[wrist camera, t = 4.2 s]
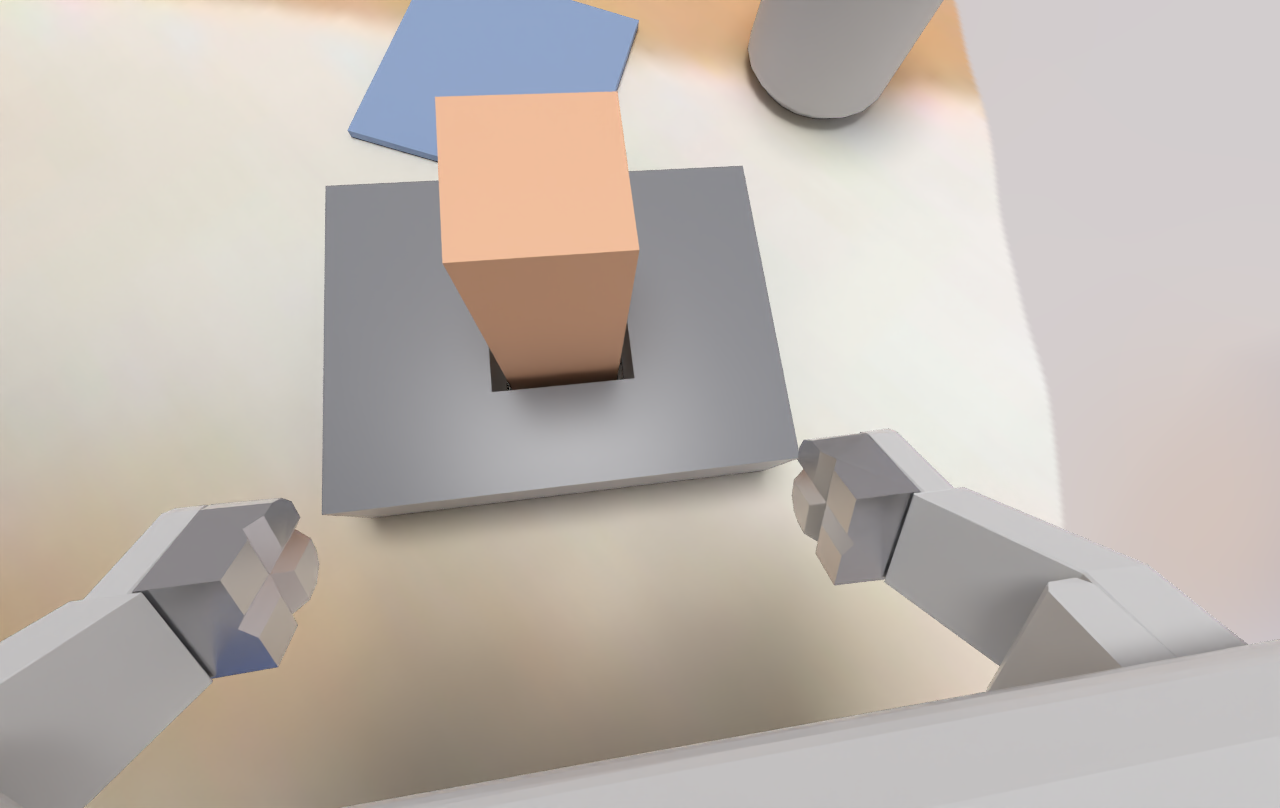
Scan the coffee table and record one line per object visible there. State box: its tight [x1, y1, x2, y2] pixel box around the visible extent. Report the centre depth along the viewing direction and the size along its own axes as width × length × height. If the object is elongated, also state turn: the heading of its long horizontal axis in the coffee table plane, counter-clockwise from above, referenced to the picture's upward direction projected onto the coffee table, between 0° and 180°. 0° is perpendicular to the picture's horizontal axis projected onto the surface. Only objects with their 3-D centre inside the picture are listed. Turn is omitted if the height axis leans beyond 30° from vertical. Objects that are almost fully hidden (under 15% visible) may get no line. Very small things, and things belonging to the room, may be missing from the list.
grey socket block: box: [322, 166, 799, 518], centre depth 21 cm, size 16×12×4 cm
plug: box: [435, 91, 639, 390], centre depth 17 cm, size 4×4×12 cm
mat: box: [348, 0, 639, 161], centre depth 26 cm, size 11×11×1 cm
